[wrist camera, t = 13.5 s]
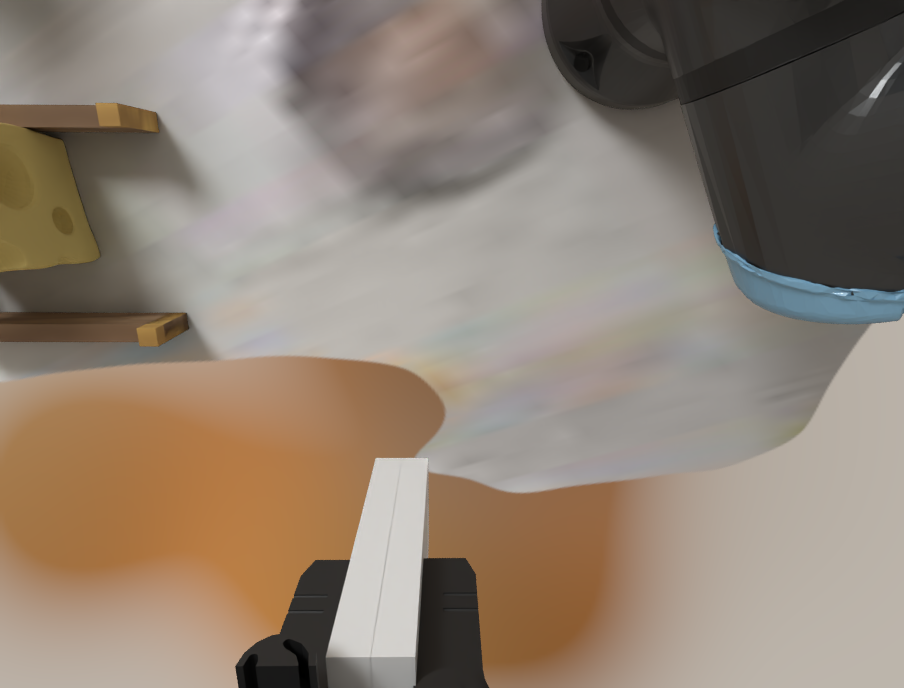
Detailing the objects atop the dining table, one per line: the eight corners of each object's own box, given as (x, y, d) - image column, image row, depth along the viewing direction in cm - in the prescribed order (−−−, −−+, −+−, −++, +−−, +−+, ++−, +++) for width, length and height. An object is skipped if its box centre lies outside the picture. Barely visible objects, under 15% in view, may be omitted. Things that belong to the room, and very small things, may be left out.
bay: (-91, 110, 41) (-164, 101, 37) (156, 112, 42) (116, 103, 37) (-30, 328, 47) (-86, 345, 42) (188, 328, 47) (158, 346, 42)
